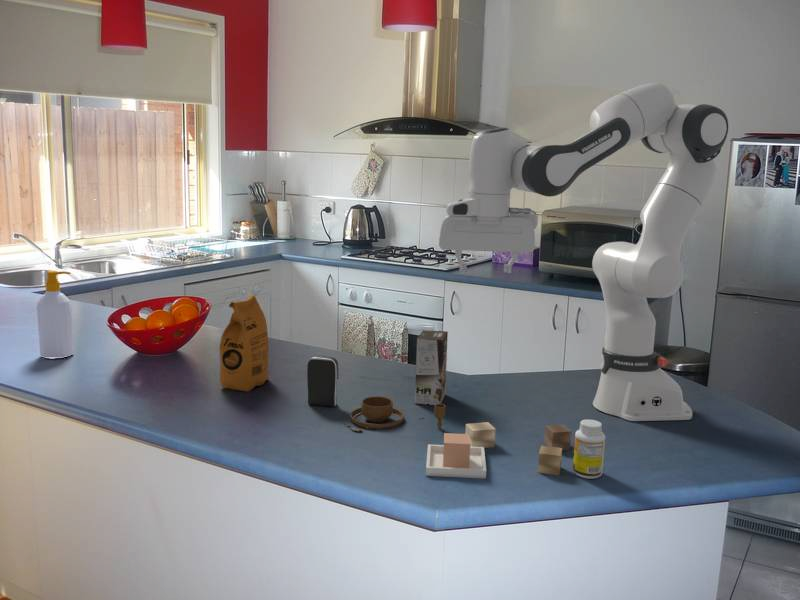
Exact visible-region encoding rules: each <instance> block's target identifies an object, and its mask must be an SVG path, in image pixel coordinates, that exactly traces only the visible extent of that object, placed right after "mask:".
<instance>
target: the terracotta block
mask: <svg viewBox="0 0 800 600" xmlns="http://www.w3.org/2000/svg"><path fill="white" fill-rule="evenodd" d="M443 445H444V451H443V467H451V468H469V463H470V434H465V433H451V432H450V433H448V432H444V434H443Z"/></svg>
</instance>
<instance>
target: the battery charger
mask: <svg viewBox="0 0 800 600" xmlns="http://www.w3.org/2000/svg"><path fill="white" fill-rule="evenodd" d="M306 369H307V373H306V375H307V376H306V377H307V378H306V379H307V381H306V382H307V404H308V405H313V406H321V407H331V408H332V407H335V406H336V405H337V400H338V399H337V384H338V380H339V362H338V359H337V358H335V357H332V356H326V355H325V356H324V355H323V356H322V355H321V356H320V355H315V356H312V357H311V358H310V359H308V362H307V368H306Z"/></svg>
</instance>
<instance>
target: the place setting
mask: <svg viewBox="0 0 800 600" xmlns="http://www.w3.org/2000/svg"><path fill="white" fill-rule="evenodd" d="M393 406H394V401H393V400H392V399H391V398H388V397H385V396H370V397H369V396H368V397H365V398H363V399H362V400H361V407H358V408H355V409H354V410H352V411H351V412H350V414H349V415H350V420H351V422H352V423H353V424H354V423H355V425H356V424H357V425H356V428H359V430H358V431H357V430H353V431H352V429H351V427H349V429H350V430H351V431H352V432H355V431H357V432H356V433H360V431H361V432H362V431H363V428H364V427H368V428H367V429H370V428H386V429H390V428H389V427H392V428H395V427H398V426H399V425H401V423H403V421H404V418H405V417H404V413H403V412H402V411H401V410H400V409H398V408H395V407H393ZM446 406H447V405H445V403H444V404H443V403H441V404H436V405H434V411H433V412H434V416H435V418H437V423H436V426H437V428H436V430H438V429H441V430H442V425H443V424H442V419H444V418H445V416H446V409H447V407H446ZM361 412H362V414H361V415H362V416H363V417H364V418H366V419H367V420H368V421H369V420H370V421H369V422H370V423H368V422H363V421H359V420H357V419H356V418H353V417H354V416H355V415H356V414H358V413H361ZM392 413H393V414H396V415H398V416H399V417H400V419H397V420H395V421H393V422H387V423H383V422H382V421H384V422H386V420H387V419H389V418H390V417H391V416H392V415H393V414H392ZM396 415H395V416H396ZM399 417H398V418H399ZM371 421H373V422H372V423H371ZM375 422H379V423H375ZM358 425H359V426H358ZM357 426H358V427H357ZM360 426H363V427H360ZM394 426H395V427H394Z"/></svg>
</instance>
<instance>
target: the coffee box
mask: <svg viewBox="0 0 800 600" xmlns="http://www.w3.org/2000/svg"><path fill="white" fill-rule="evenodd" d="M448 333H449V331H445V330H444V331H443V330H424V329H423V330H422V331H421V333H420V334H418V336H417V338H416V356H415V358H416V360H415V385H414V404H419V405H420V404H421V405H427V404H429V406H435V405H436V404H442V402H443V400H444V398H445V395H446V387H447V386H446V385H447V361H448V336H449V335H448Z"/></svg>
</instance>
